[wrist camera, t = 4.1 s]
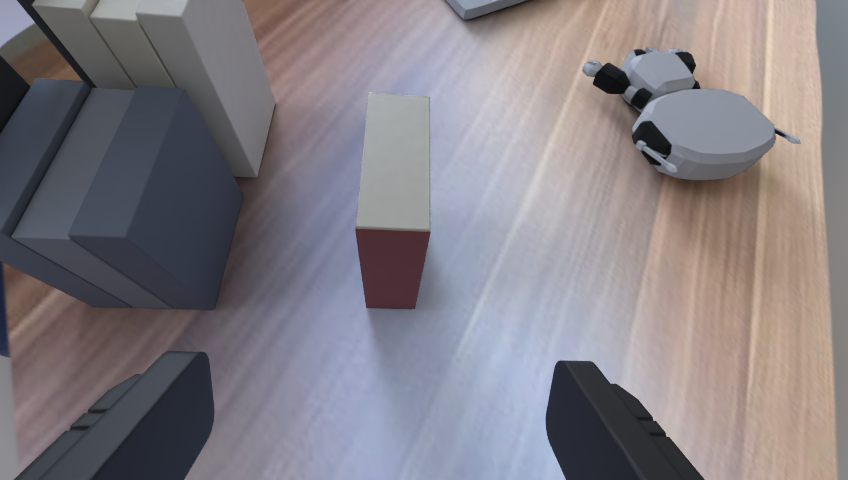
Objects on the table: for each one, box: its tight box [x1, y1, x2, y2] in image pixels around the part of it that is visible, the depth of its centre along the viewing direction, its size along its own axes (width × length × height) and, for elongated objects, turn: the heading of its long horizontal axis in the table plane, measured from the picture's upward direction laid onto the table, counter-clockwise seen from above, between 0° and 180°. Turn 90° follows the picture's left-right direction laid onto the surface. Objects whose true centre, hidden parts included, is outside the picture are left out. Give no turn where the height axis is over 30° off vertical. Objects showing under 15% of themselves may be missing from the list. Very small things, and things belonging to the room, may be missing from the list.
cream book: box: [356, 93, 430, 309], centre depth 24 cm, size 3×8×11 cm, turn 0°
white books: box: [17, 0, 275, 178], centre depth 26 cm, size 7×8×14 cm
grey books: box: [0, 56, 243, 310], centre depth 22 cm, size 8×9×12 cm
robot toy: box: [583, 47, 801, 180], centre depth 35 cm, size 12×4×15 cm
